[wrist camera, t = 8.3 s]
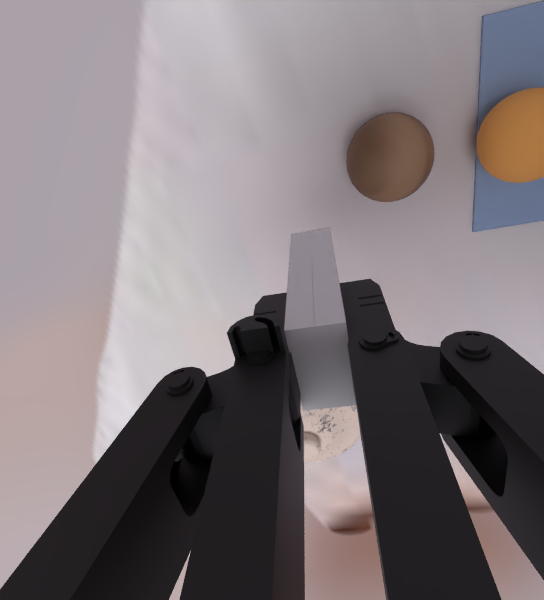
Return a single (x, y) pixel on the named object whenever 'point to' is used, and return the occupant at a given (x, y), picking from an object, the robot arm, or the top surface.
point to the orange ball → (514, 137)
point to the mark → (493, 89)
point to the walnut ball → (390, 157)
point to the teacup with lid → (329, 431)
